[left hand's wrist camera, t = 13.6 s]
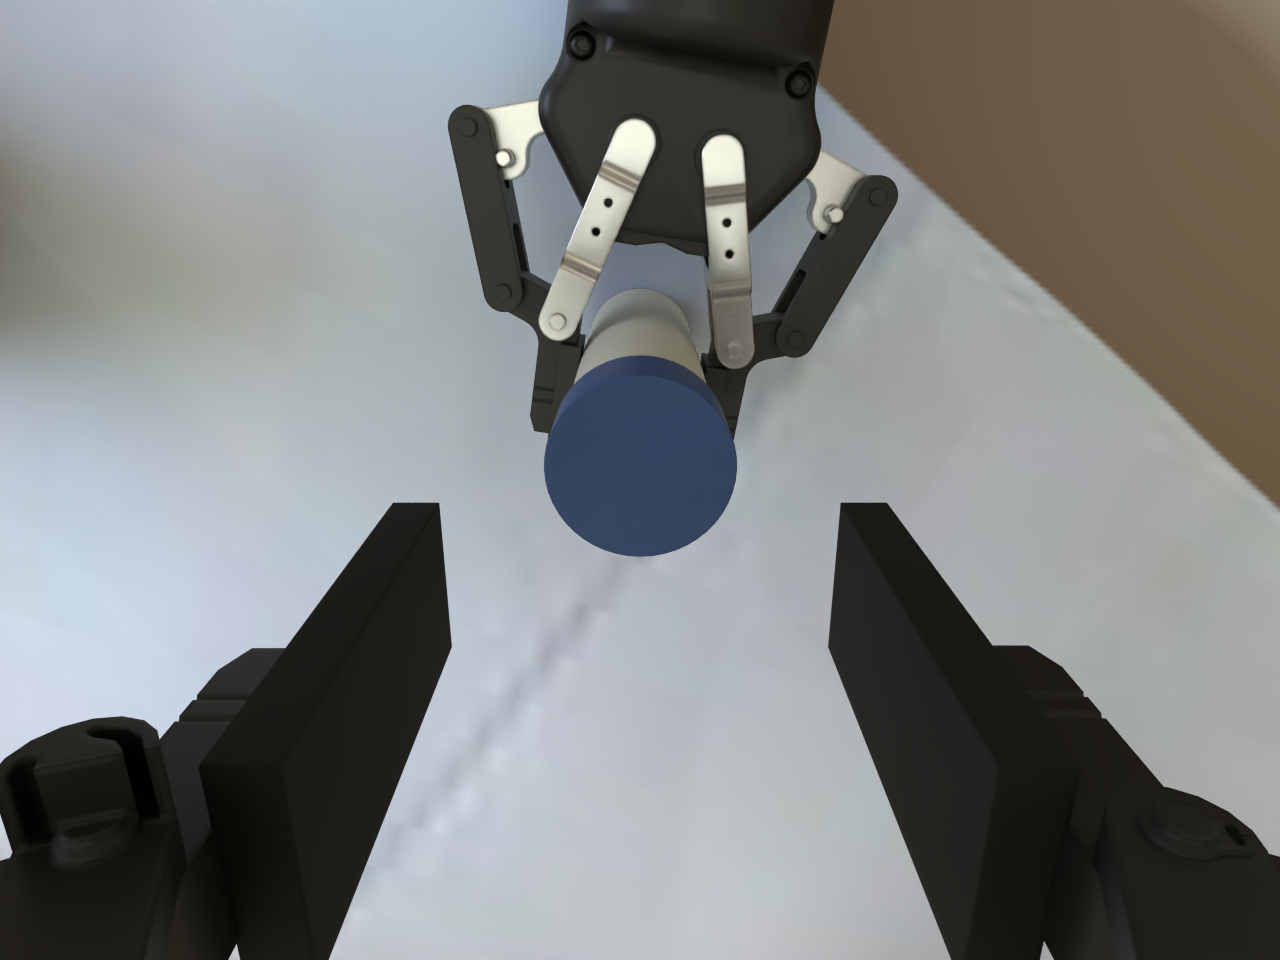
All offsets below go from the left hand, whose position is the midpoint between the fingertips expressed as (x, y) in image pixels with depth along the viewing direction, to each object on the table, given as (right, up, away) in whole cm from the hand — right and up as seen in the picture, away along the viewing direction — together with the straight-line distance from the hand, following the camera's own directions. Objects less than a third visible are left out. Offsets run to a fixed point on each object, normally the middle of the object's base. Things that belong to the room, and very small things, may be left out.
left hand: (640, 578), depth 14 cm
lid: (0, +2, +5) cm, 6 cm away
